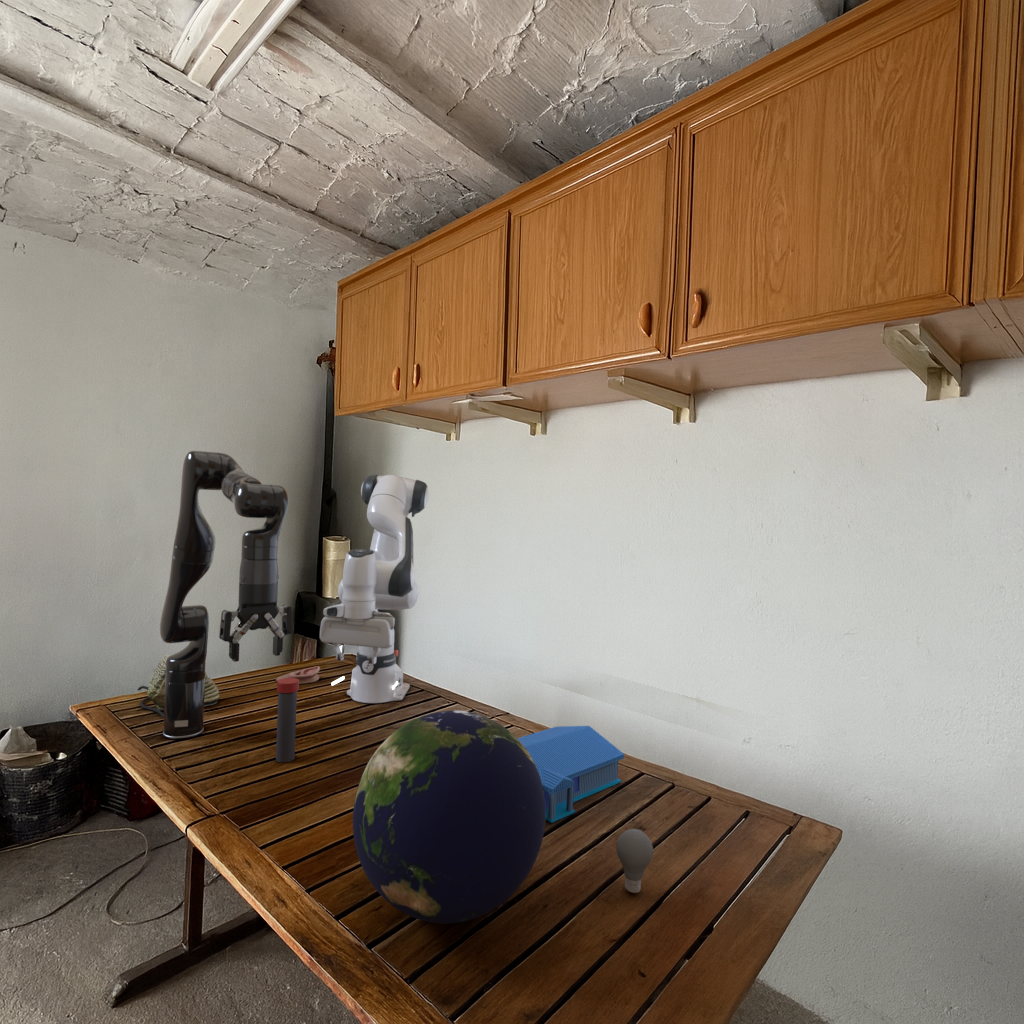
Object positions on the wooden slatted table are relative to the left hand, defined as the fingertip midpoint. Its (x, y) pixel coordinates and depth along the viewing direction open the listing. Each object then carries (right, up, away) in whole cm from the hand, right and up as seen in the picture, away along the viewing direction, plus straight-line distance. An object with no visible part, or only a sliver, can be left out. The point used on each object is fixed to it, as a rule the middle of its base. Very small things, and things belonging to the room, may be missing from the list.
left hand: (256, 657), depth 132 cm
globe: (+43, -32, -32) cm, 62 cm away
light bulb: (+73, -33, -26) cm, 85 cm away
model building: (+58, -32, +9) cm, 67 cm away
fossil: (-43, -27, +53) cm, 73 cm away
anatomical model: (-20, -27, +84) cm, 90 cm away
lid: (0, -10, +20) cm, 22 cm away
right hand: (+12, -10, +37) cm, 40 cm away
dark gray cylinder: (-1, -29, +20) cm, 35 cm away
